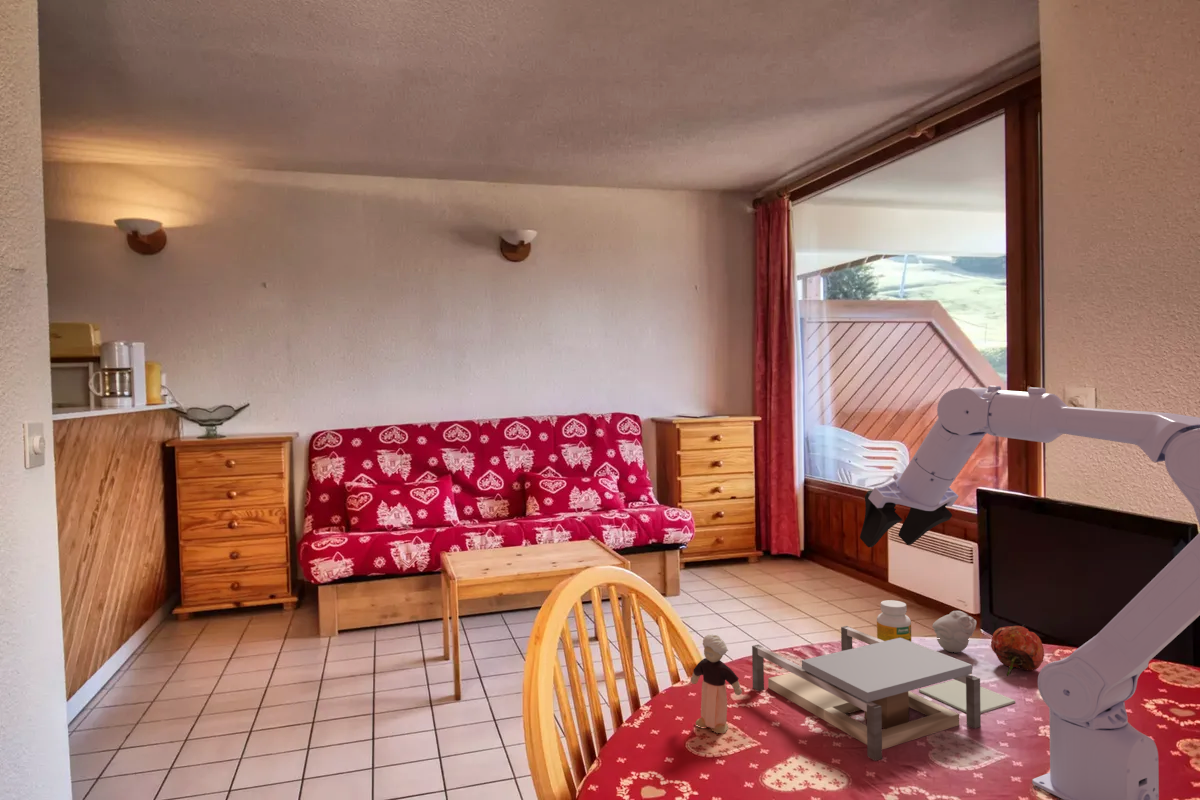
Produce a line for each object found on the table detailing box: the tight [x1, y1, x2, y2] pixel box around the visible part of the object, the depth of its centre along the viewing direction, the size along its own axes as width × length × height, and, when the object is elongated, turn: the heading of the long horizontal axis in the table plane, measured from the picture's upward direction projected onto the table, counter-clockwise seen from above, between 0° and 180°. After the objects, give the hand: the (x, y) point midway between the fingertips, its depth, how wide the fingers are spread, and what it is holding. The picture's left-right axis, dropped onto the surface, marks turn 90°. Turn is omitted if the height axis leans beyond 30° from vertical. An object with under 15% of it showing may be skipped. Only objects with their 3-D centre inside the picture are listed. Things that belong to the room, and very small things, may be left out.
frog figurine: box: [932, 610, 977, 654], centre depth 122 cm, size 6×7×7 cm
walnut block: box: [864, 691, 910, 729], centre depth 98 cm, size 4×4×4 cm
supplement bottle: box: [876, 599, 912, 642], centre depth 119 cm, size 5×5×10 cm
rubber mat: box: [918, 679, 1016, 714], centre depth 104 cm, size 9×9×1 cm
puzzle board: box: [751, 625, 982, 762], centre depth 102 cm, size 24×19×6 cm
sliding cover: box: [801, 638, 973, 702], centre depth 98 cm, size 12×19×1 cm, turn 115°
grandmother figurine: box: [690, 634, 743, 734], centre depth 96 cm, size 8×4×13 cm, turn 62°
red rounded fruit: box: [990, 624, 1045, 677], centre depth 114 cm, size 7×7×10 cm
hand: (885, 541), depth 101 cm, fingers open, 7 cm apart
